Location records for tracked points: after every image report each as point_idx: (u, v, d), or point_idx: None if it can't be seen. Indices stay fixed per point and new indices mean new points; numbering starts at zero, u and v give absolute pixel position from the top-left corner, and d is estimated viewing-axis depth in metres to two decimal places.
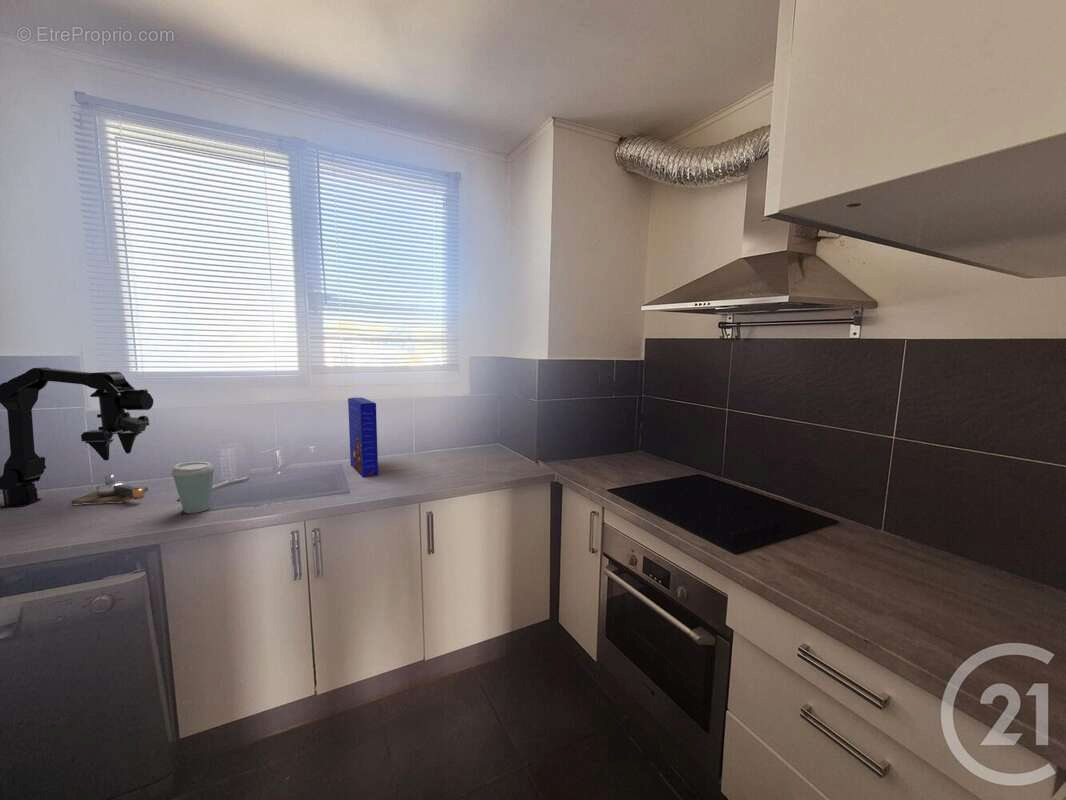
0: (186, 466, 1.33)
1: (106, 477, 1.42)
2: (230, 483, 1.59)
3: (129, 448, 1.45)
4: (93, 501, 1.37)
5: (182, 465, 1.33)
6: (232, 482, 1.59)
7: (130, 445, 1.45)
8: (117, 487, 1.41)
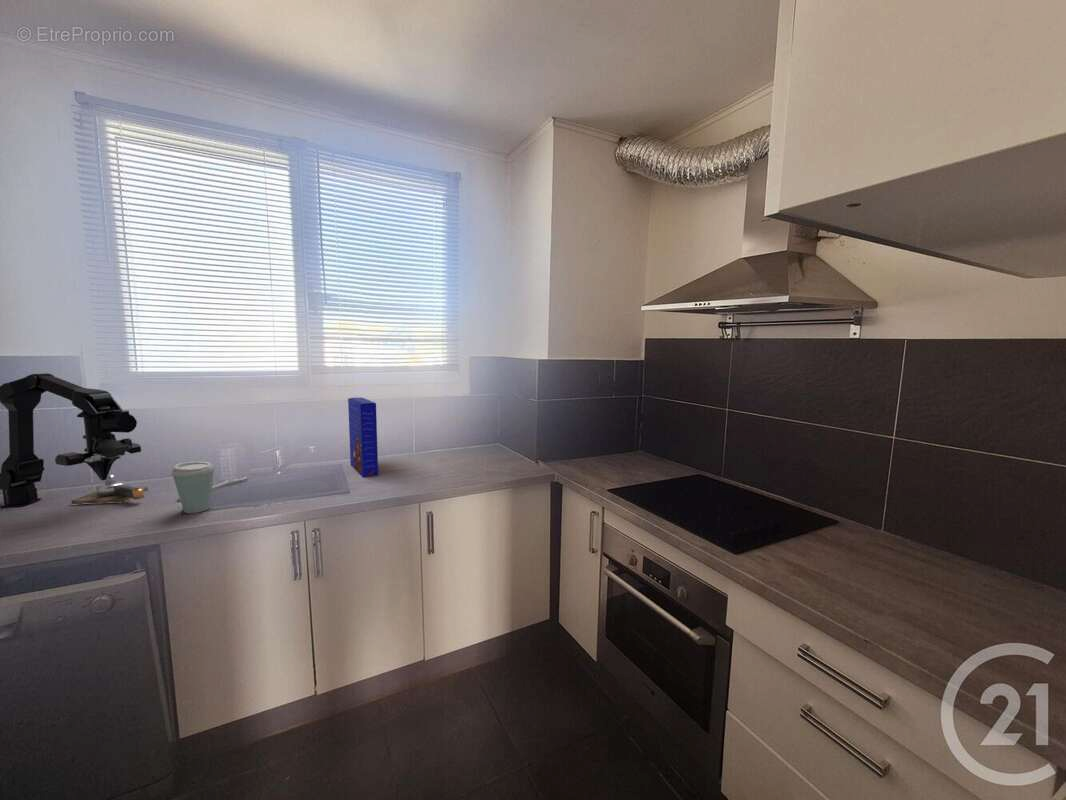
0: (186, 466, 1.33)
1: None
2: (230, 483, 1.58)
3: (104, 474, 1.34)
4: (93, 501, 1.37)
5: (182, 465, 1.33)
6: (232, 482, 1.59)
7: (105, 471, 1.34)
8: (117, 487, 1.41)
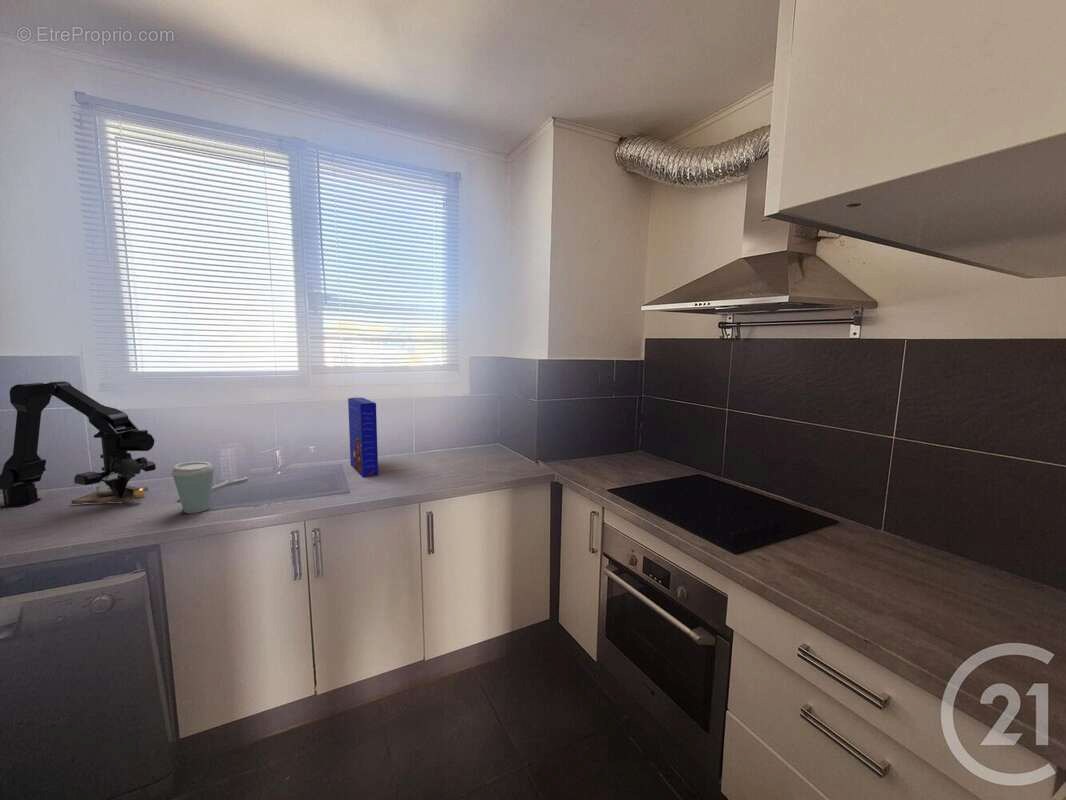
0: (186, 466, 1.33)
1: None
2: (230, 484, 1.58)
3: (120, 492, 1.38)
4: (93, 501, 1.37)
5: (182, 465, 1.33)
6: (232, 483, 1.59)
7: (121, 489, 1.38)
8: None
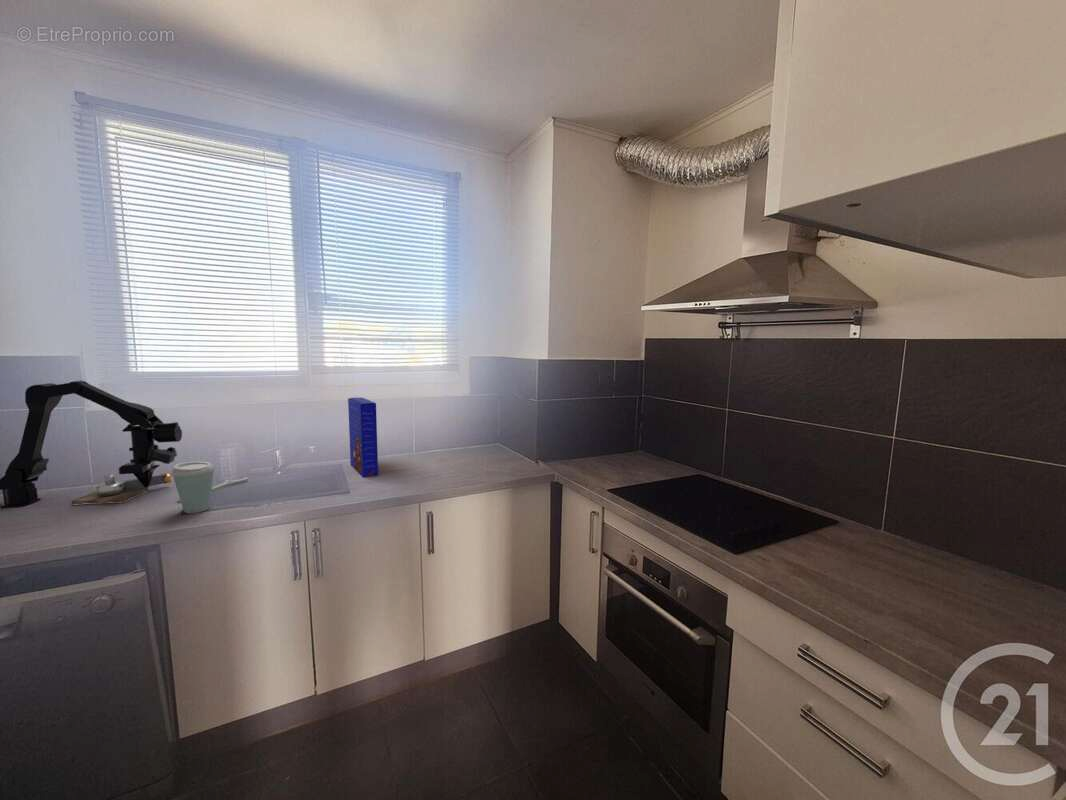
0: (186, 466, 1.33)
1: (112, 476, 1.42)
2: (229, 484, 1.57)
3: None
4: (93, 501, 1.37)
5: (182, 465, 1.33)
6: (231, 483, 1.58)
7: (149, 479, 1.48)
8: (132, 481, 1.47)
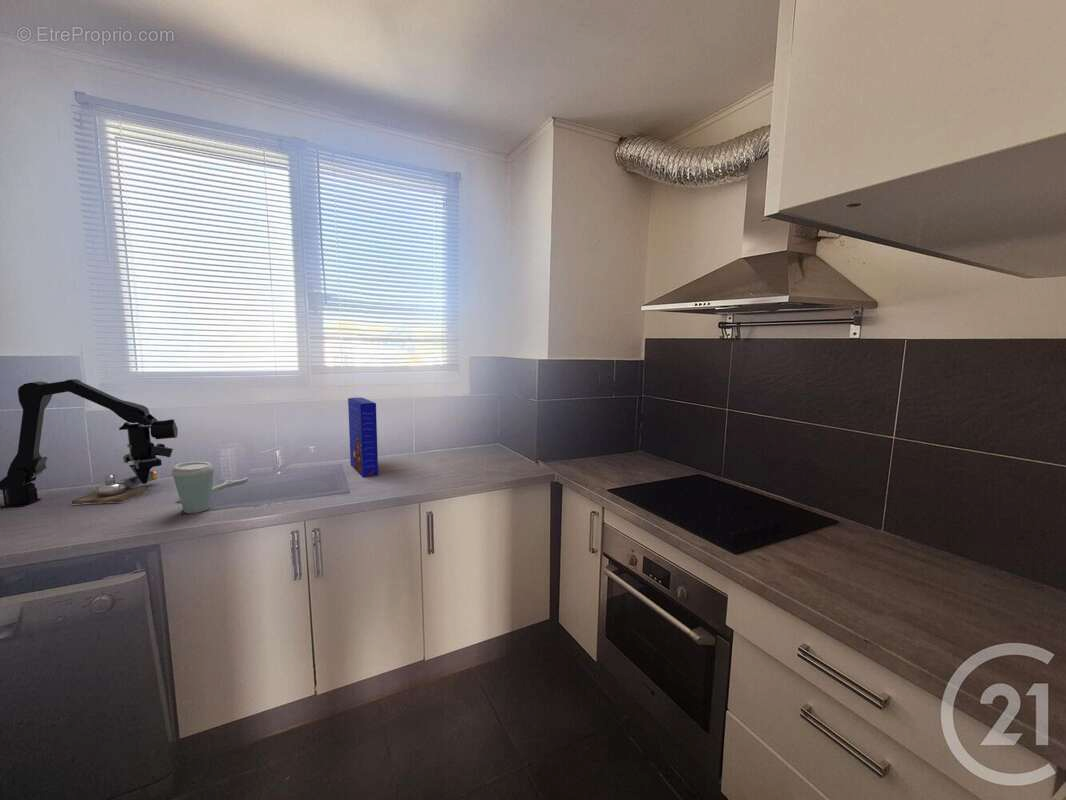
0: (186, 466, 1.33)
1: (114, 476, 1.43)
2: (229, 484, 1.57)
3: None
4: (93, 501, 1.37)
5: (182, 465, 1.33)
6: (231, 483, 1.58)
7: None
8: (129, 480, 1.48)
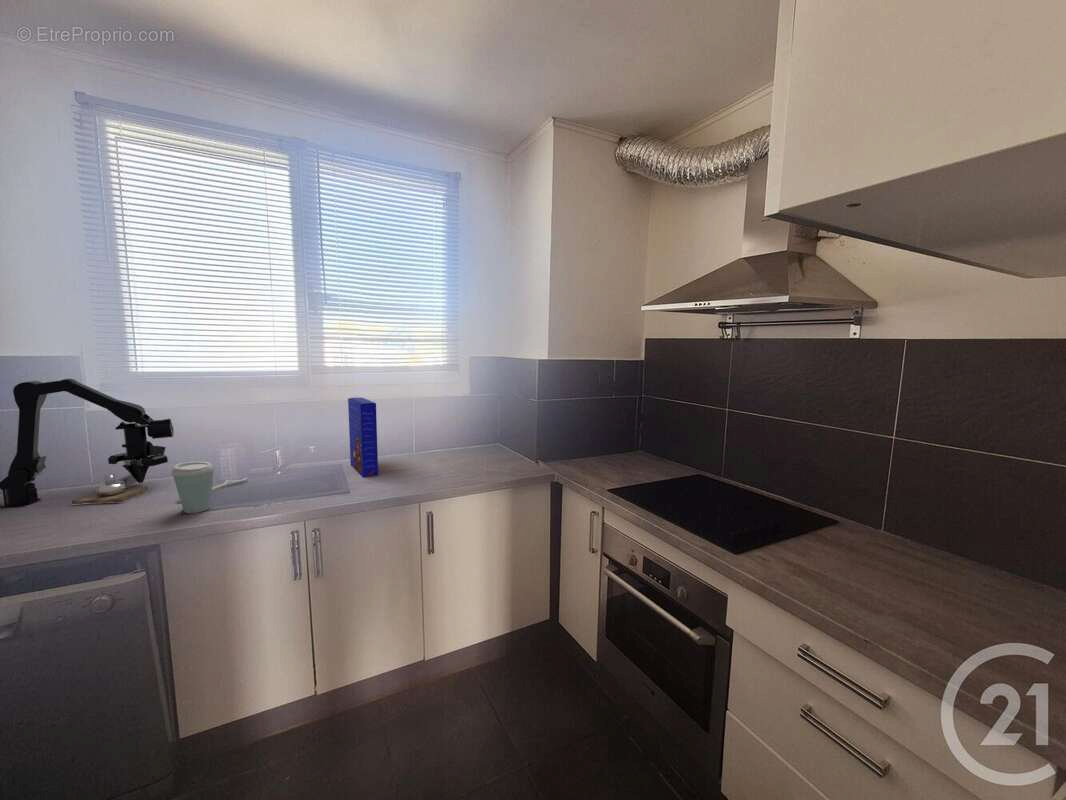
0: (186, 466, 1.33)
1: (114, 475, 1.43)
2: (229, 485, 1.57)
3: None
4: (93, 501, 1.37)
5: (182, 465, 1.33)
6: (231, 484, 1.57)
7: None
8: (124, 479, 1.48)
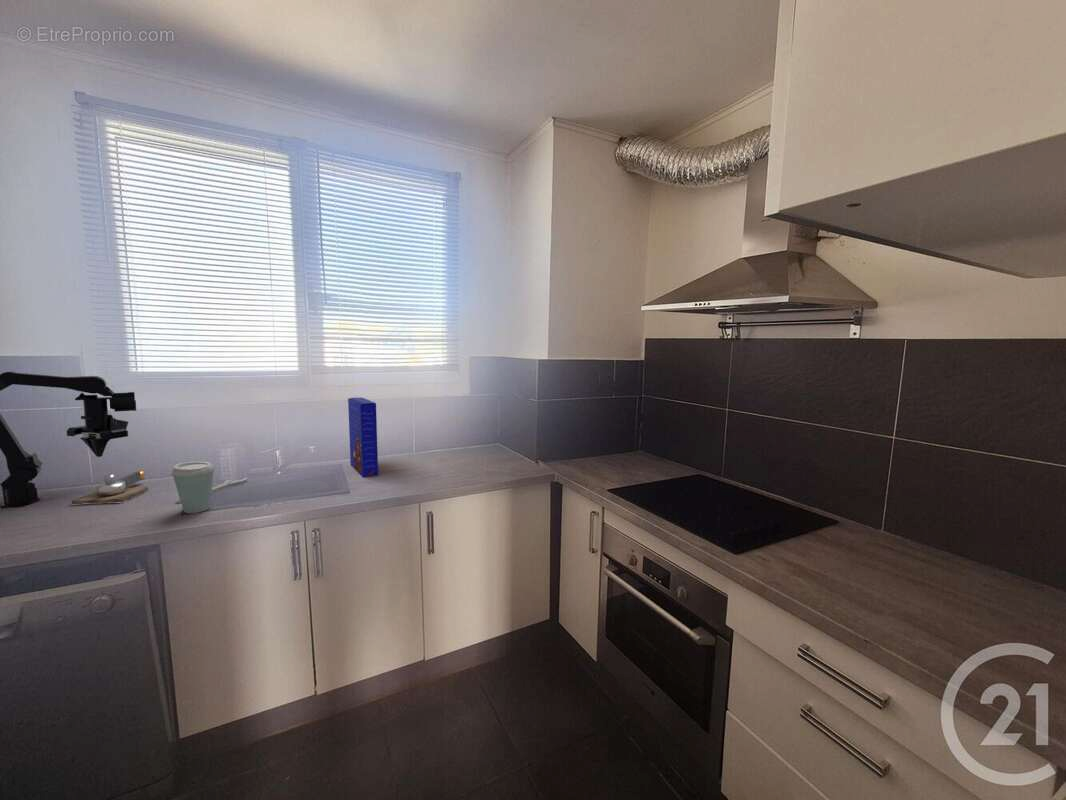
0: (186, 466, 1.33)
1: (114, 475, 1.43)
2: (229, 485, 1.56)
3: None
4: (93, 501, 1.37)
5: (182, 465, 1.33)
6: (231, 484, 1.57)
7: None
8: (124, 479, 1.48)
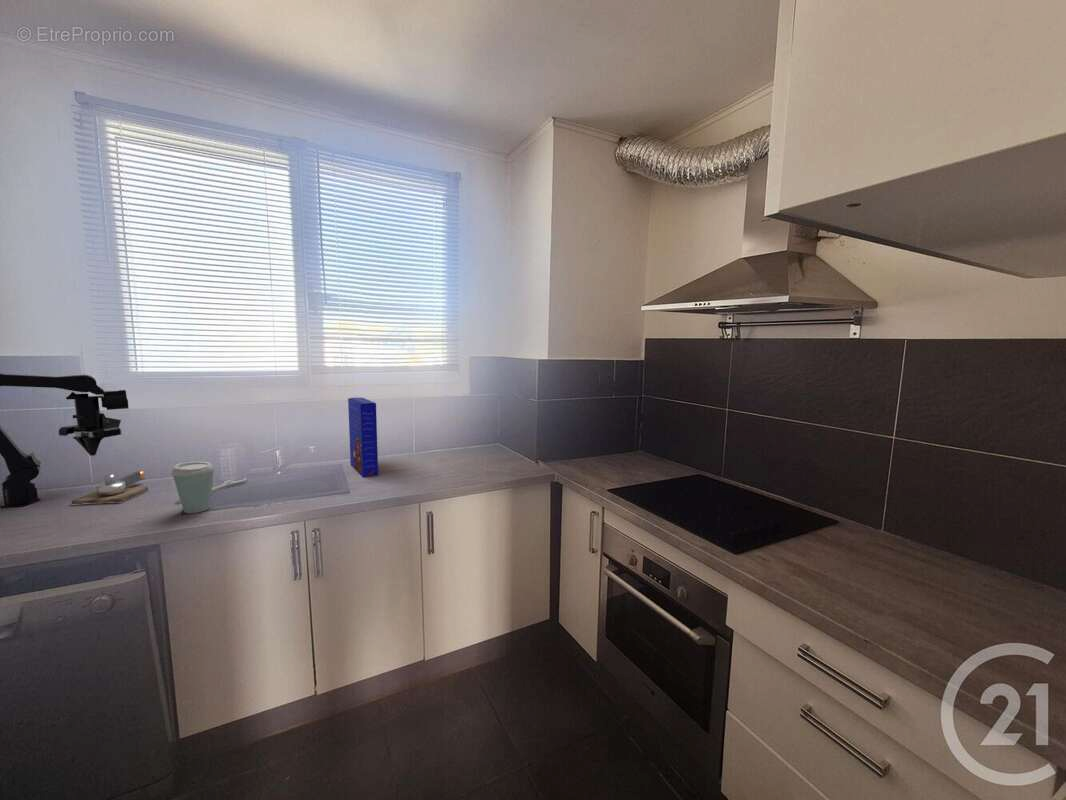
0: (186, 466, 1.33)
1: (114, 475, 1.43)
2: (229, 485, 1.56)
3: None
4: (93, 501, 1.37)
5: (182, 465, 1.33)
6: (231, 484, 1.57)
7: None
8: (124, 479, 1.48)
